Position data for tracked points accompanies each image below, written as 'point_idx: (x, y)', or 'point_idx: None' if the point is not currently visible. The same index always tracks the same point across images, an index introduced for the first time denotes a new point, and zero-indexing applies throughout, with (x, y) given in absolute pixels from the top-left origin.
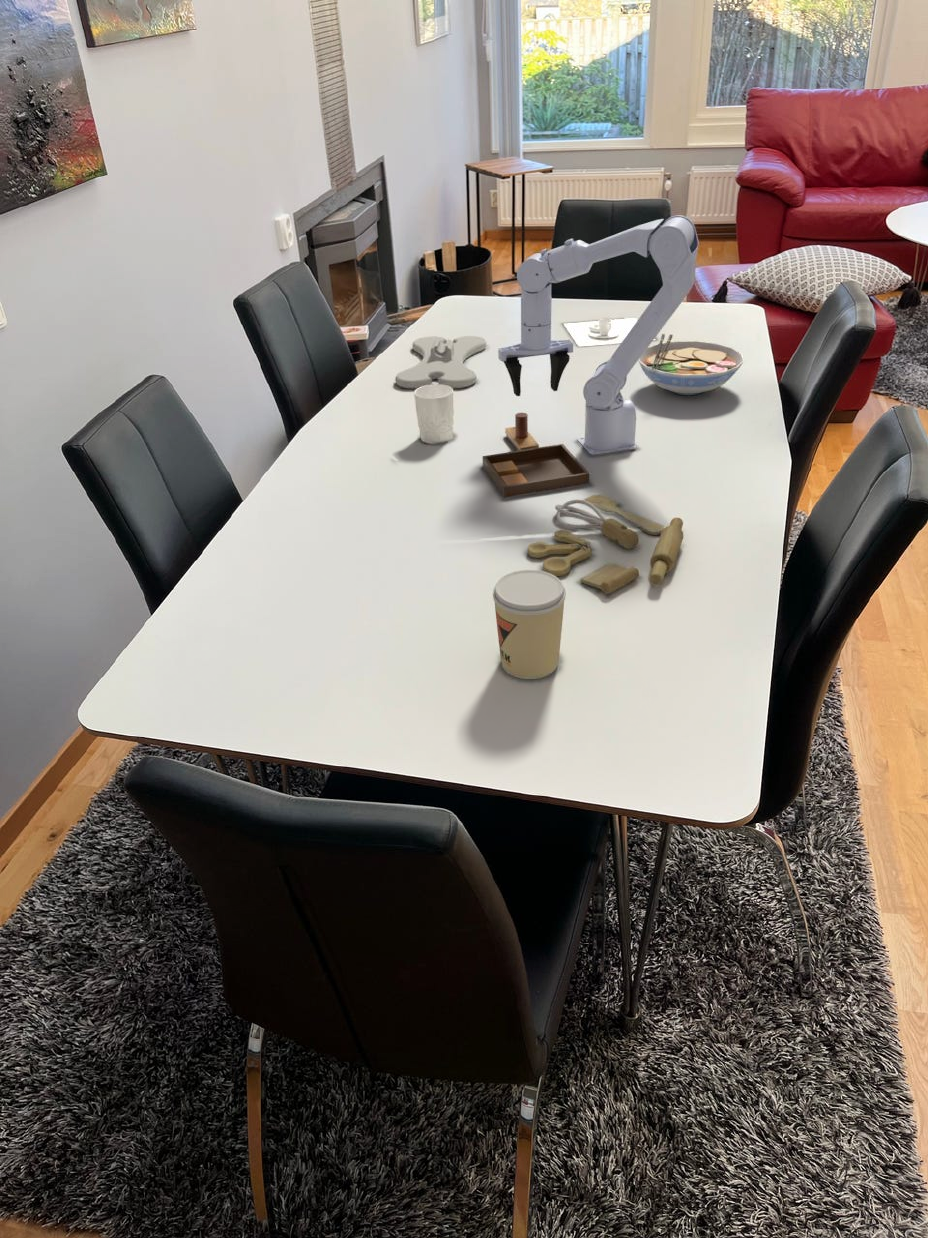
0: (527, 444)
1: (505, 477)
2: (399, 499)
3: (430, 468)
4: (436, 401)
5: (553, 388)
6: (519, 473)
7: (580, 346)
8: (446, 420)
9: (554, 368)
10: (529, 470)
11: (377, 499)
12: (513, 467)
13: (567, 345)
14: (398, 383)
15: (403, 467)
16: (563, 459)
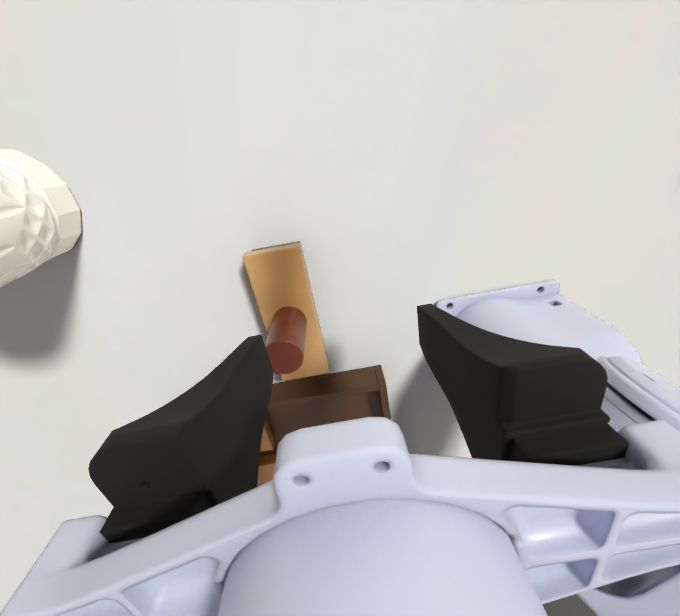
0: (301, 367)
1: None
2: (57, 479)
3: (76, 383)
4: None
5: (421, 339)
6: (274, 464)
7: None
8: (16, 277)
9: (460, 399)
10: (298, 427)
11: (12, 477)
12: (263, 444)
13: (643, 551)
14: None
15: (5, 371)
16: (375, 394)
